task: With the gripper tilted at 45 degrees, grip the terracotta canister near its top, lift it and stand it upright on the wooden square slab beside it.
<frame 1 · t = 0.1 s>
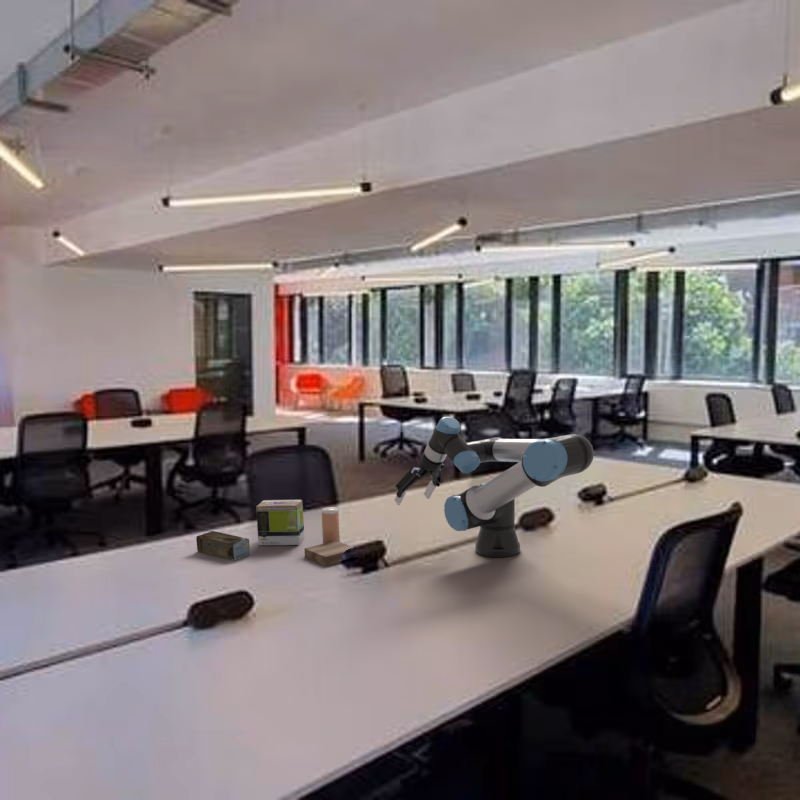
hand: (411, 499, 277), 15 cm above the table, tool tilted 35°, fingers open, 13 cm apart
terracotta canister: (331, 544, 277), on the table
tea box: (281, 542, 283), on the table
wooden square slab: (331, 557, 263), on the table
beverage carton: (223, 554, 271), on the table
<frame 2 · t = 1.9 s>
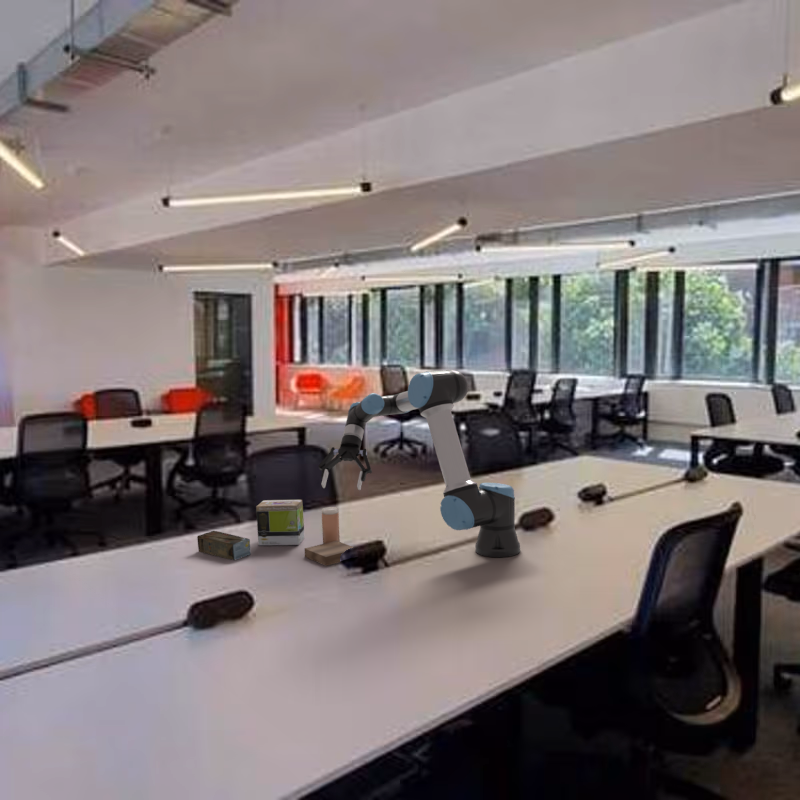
hand: (340, 487, 285), 19 cm above the table, tool tilted 45°, fingers open, 13 cm apart
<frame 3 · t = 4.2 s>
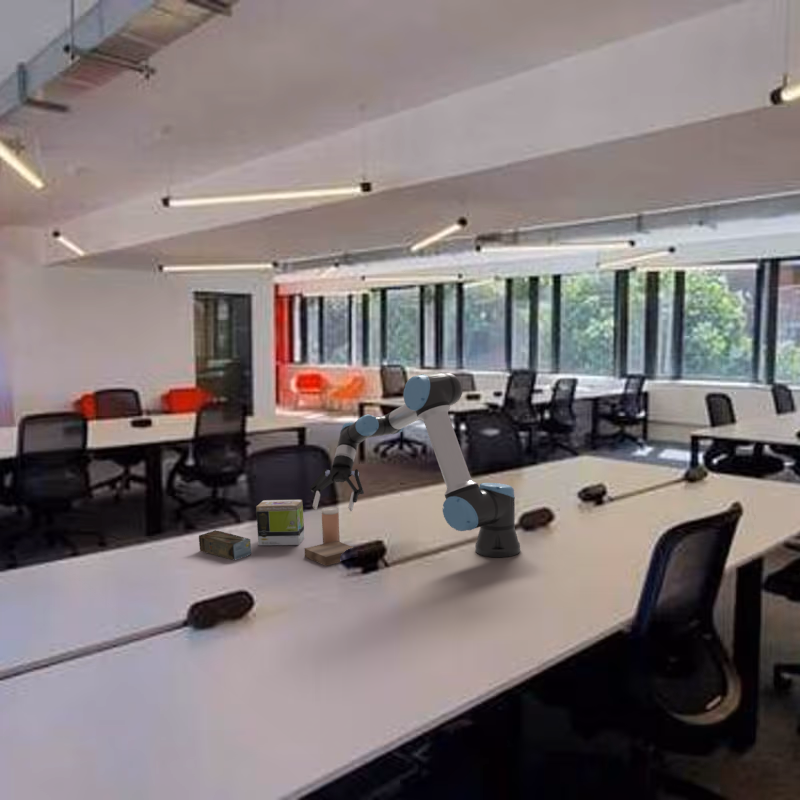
hand: (332, 508, 281), 12 cm above the table, tool tilted 45°, fingers open, 13 cm apart
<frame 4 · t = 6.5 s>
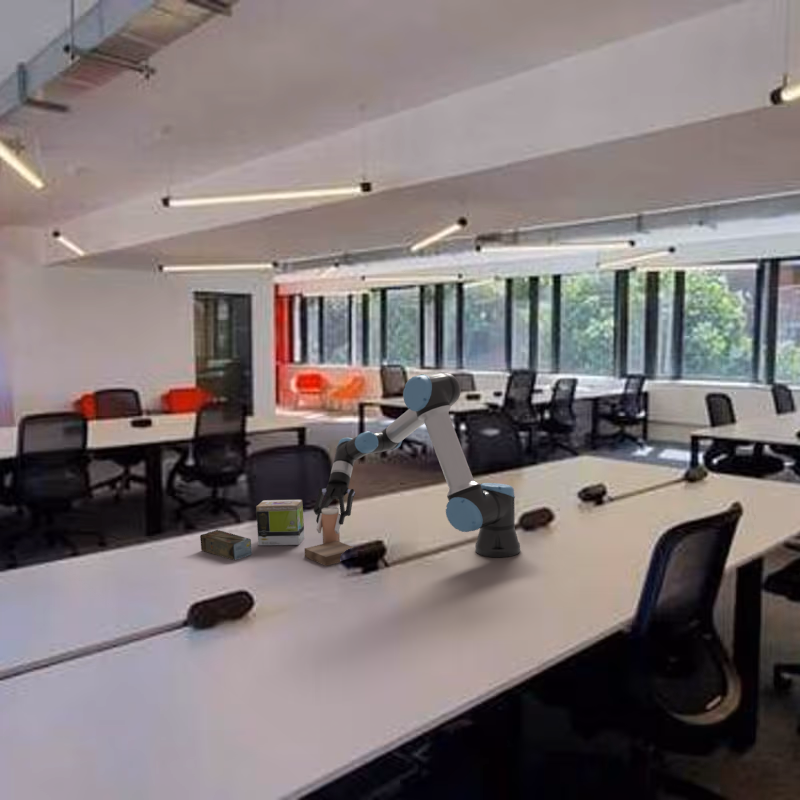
hand: (327, 531, 273), 6 cm above the table, tool tilted 45°, fingers closed on terracotta canister, 6 cm apart
terracotta canister: (331, 544, 277), on the table, touching gripper
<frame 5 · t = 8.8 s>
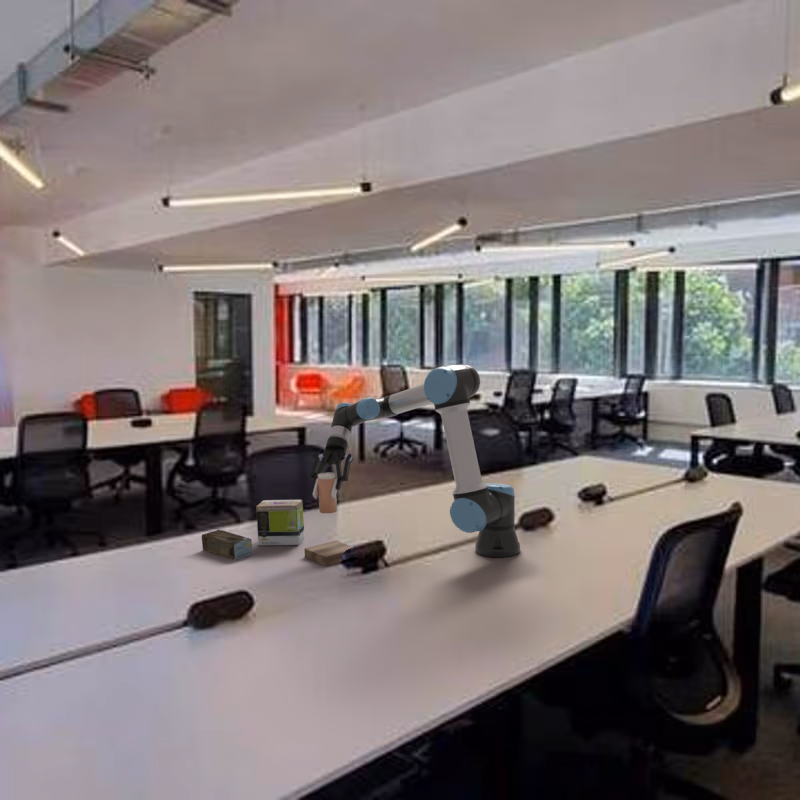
hand: (323, 496, 265), 20 cm above the table, tool tilted 45°, fingers closed on terracotta canister, 6 cm apart
terracotta canister: (328, 511, 269), point 14 cm above the table, touching gripper
when the fingers open (10 cm above the table, at t = 11.4 s): terracotta canister drops 1 cm, resting on wooden square slab.
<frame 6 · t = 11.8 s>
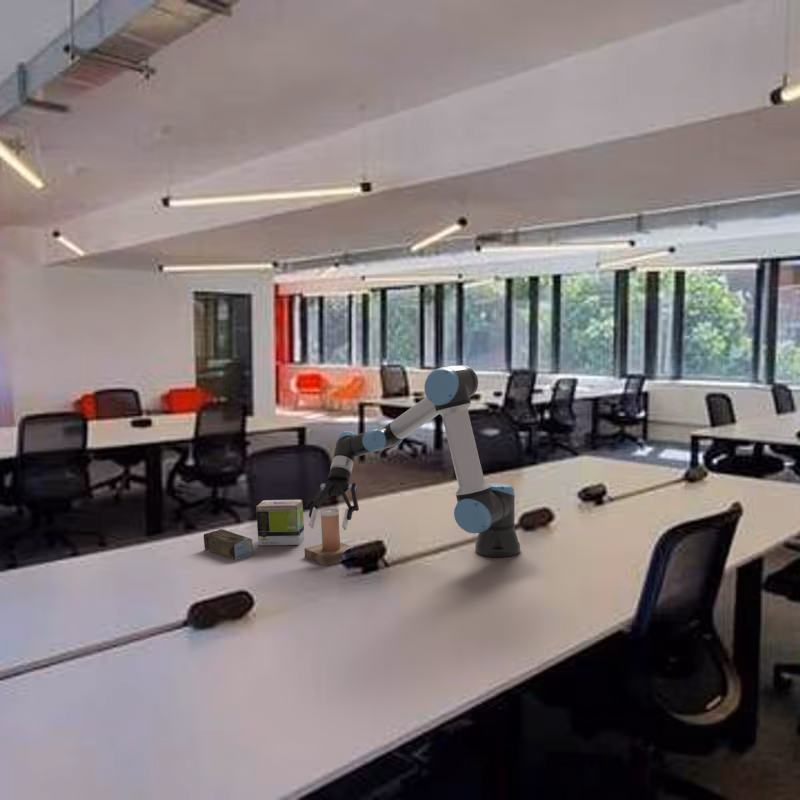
hand: (327, 527, 259), 11 cm above the table, tool tilted 45°, fingers open, 11 cm apart
terracotta canister: (331, 548, 263), point 3 cm above the table, touching wooden square slab
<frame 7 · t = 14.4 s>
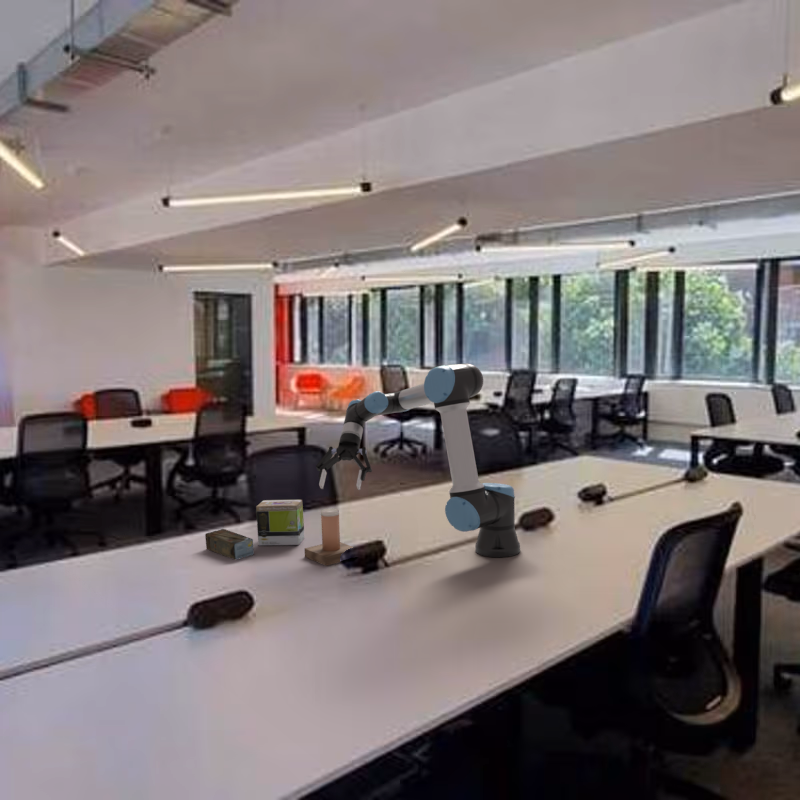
hand: (339, 487, 271), 22 cm above the table, tool tilted 45°, fingers open, 13 cm apart
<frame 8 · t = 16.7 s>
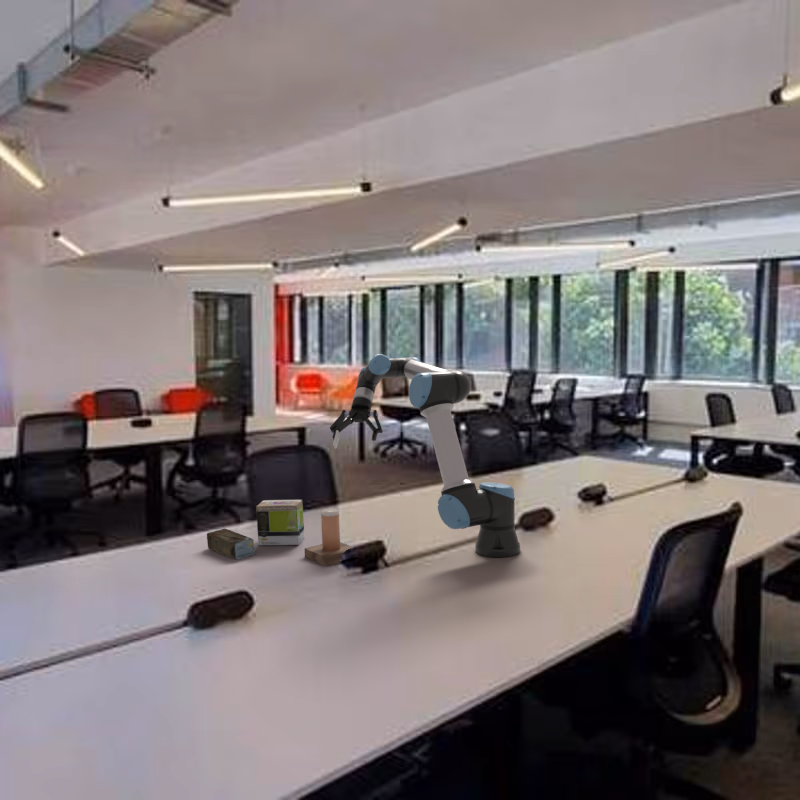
hand: (352, 446, 288), 33 cm above the table, tool tilted 45°, fingers open, 13 cm apart
at the end: terracotta canister inside the target area on the wooden square slab (0.1 cm from its centre), point 3.0 cm above the wooden square slab's base; terracotta canister tilted 0°; the gripper is holding nothing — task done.
